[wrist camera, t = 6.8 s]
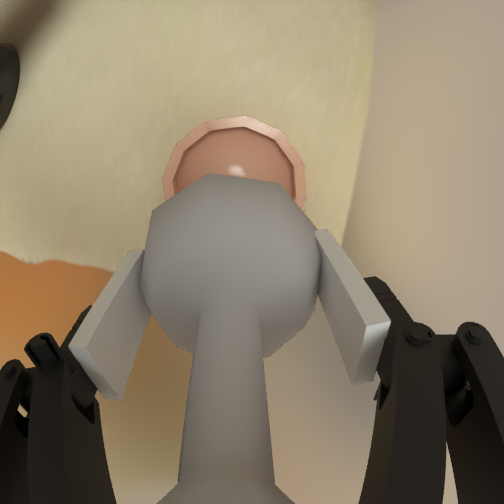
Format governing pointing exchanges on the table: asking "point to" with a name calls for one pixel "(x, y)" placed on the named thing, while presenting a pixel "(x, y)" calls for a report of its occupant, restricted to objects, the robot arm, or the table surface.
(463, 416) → the robot arm
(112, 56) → the table surface
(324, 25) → the table surface
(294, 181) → the saucer
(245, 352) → the potion bottle
